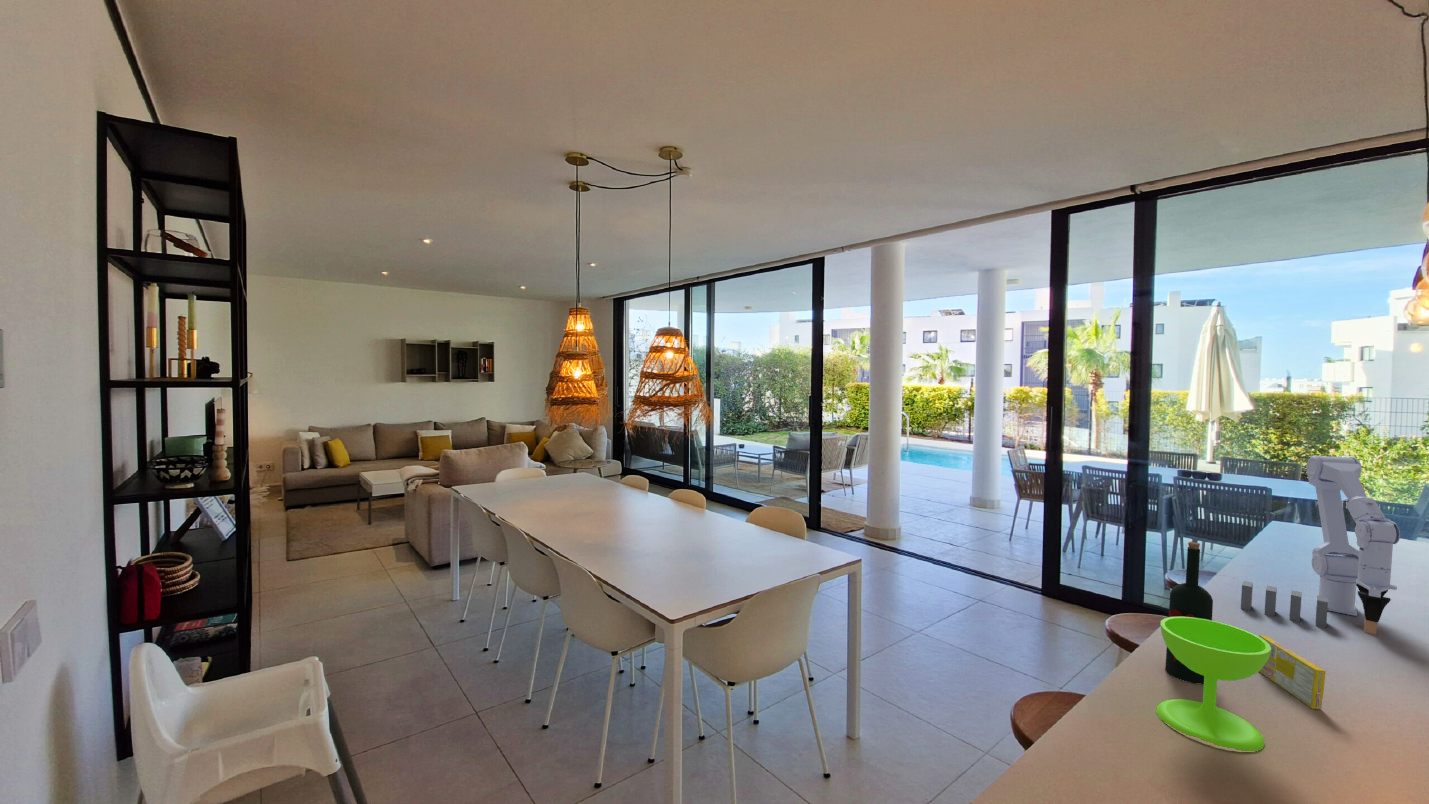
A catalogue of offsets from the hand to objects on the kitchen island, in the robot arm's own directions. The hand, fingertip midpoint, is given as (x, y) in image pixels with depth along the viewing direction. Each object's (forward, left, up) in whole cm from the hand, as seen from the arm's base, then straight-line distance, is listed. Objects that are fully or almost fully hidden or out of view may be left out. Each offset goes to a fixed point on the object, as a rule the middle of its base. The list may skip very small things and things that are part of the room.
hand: (1371, 616), depth 154 cm
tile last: (+4, -24, -4) cm, 25 cm away
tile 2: (+4, -9, -4) cm, 10 cm away
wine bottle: (+66, -30, -4) cm, 73 cm away
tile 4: (+4, -19, -4) cm, 20 cm away
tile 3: (+4, -14, -4) cm, 15 cm away
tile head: (0, 0, -4) cm, 4 cm away
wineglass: (+86, -24, -4) cm, 89 cm away
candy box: (+56, -14, -4) cm, 58 cm away
